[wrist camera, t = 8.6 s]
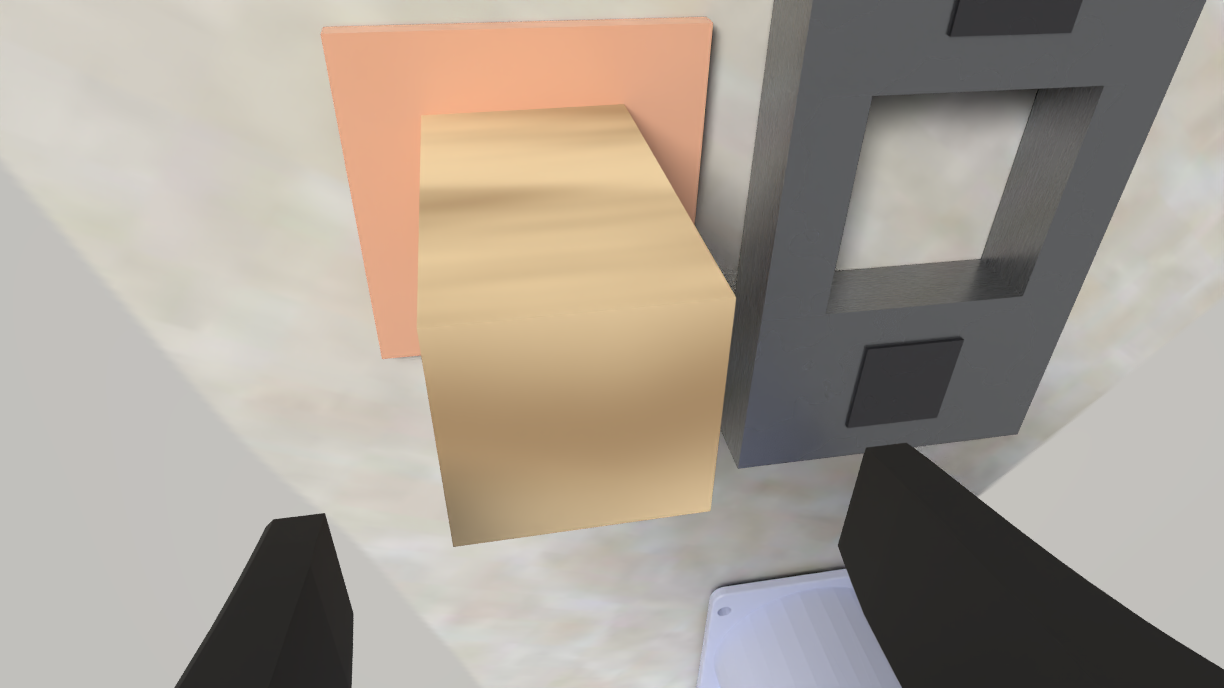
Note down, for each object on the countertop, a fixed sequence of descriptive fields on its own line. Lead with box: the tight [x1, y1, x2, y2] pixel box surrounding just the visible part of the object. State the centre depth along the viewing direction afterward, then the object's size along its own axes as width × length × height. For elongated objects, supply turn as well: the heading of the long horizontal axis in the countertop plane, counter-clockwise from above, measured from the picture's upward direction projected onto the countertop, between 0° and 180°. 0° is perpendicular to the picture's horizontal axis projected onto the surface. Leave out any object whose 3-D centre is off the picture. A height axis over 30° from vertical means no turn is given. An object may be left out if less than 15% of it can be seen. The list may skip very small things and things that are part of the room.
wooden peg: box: [417, 104, 736, 547], centre depth 15 cm, size 4×4×8 cm
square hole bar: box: [720, 0, 1206, 469], centre depth 20 cm, size 16×9×2 cm, turn 179°
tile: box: [321, 17, 713, 359], centre depth 19 cm, size 8×8×1 cm
